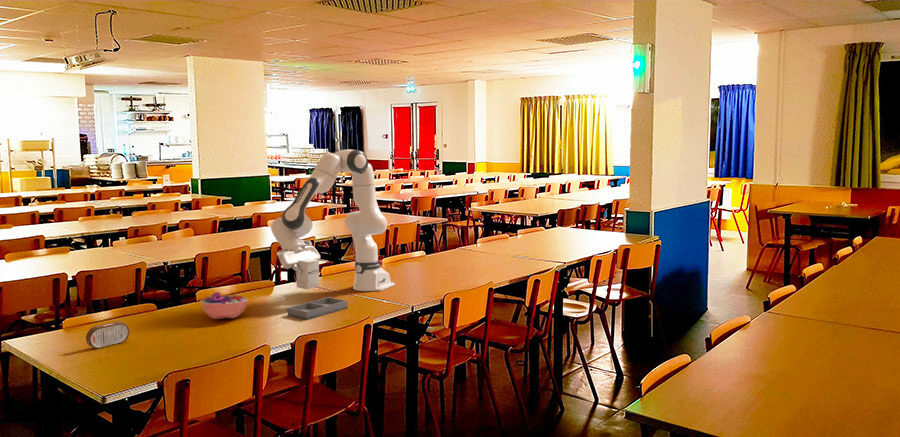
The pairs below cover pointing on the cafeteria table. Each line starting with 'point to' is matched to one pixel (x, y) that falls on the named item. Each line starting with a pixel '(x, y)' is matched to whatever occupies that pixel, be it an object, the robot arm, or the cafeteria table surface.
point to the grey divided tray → (317, 308)
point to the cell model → (224, 305)
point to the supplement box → (308, 273)
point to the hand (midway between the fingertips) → (308, 271)
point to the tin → (107, 334)
